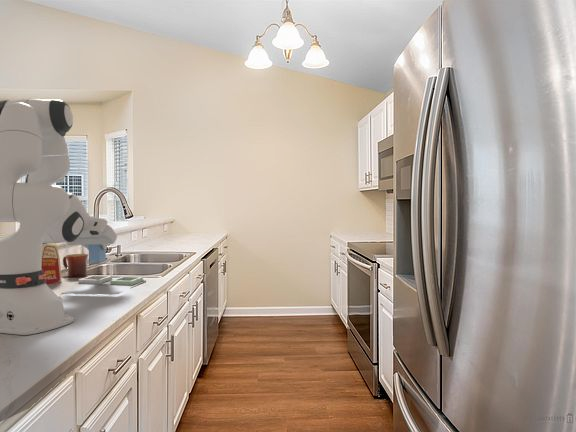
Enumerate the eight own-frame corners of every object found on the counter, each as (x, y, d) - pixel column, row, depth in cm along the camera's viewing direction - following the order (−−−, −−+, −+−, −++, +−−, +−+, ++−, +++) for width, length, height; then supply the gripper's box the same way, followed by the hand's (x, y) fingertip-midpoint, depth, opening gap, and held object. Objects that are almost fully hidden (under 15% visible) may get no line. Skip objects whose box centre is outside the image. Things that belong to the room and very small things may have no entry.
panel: (146, 282, 165) (146, 276, 164) (130, 288, 153) (130, 282, 153) (93, 280, 168) (93, 274, 168) (74, 286, 156) (74, 280, 156)
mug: (93, 277, 176) (92, 254, 176) (77, 280, 168) (76, 256, 168) (72, 275, 180) (72, 253, 180) (55, 278, 172) (55, 255, 171)
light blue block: (99, 262, 159) (98, 235, 159) (89, 262, 159) (88, 235, 159) (105, 261, 163) (104, 234, 163) (95, 261, 164) (94, 234, 164)
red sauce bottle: (41, 287, 154) (40, 236, 153) (28, 285, 159) (27, 235, 158) (64, 283, 162) (63, 235, 161) (51, 281, 167) (50, 234, 166)
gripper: (53, 233, 151) (71, 255, 161) (104, 231, 149) (118, 254, 159) (60, 221, 155) (77, 243, 165) (110, 219, 153) (123, 242, 163)
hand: (98, 248), depth 162 cm, fingers closed on light blue block, 4 cm apart
